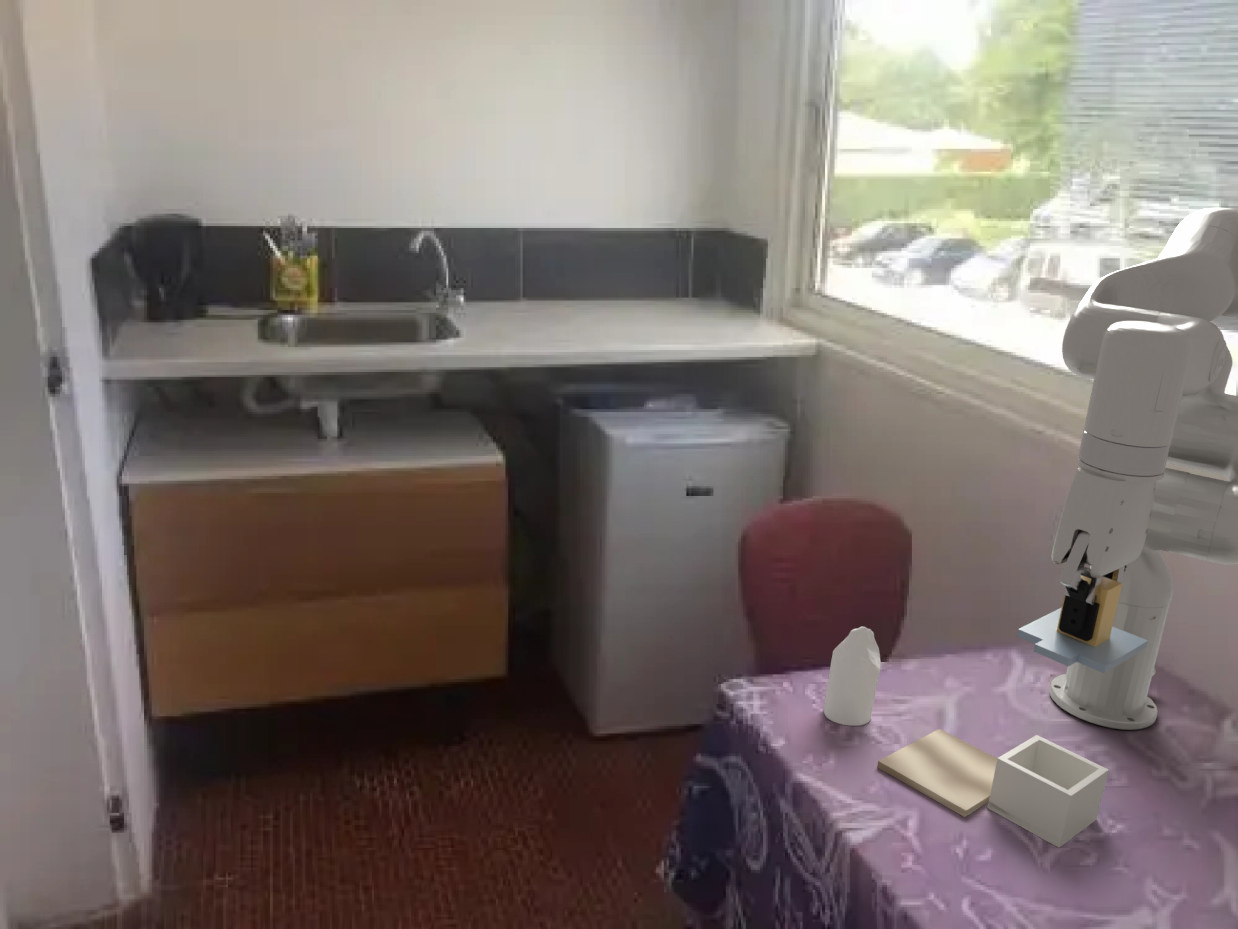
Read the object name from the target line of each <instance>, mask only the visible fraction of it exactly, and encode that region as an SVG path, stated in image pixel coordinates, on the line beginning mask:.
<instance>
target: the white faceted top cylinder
mask: <svg viewBox="0 0 1238 929" xmlns="http://www.w3.org/2000/svg"><path fill="white" fill-rule="evenodd" d="M881 663H882V662H881V655H880V648H879V645H878V644H877V641H876V639H875V633H874V631H872V629H871V628H867V627H866V626H860V627H858V628H853V629H851V630H850V632H849V633H848V635H847V636H846V637H845V638H844V640H843V641H841V642H840V643H839V644H838V645H837V646H836V647H835V648H834V649H833V651H832V657H831V661H830V666H829V668H830V669H829V673H828V674H829V675H828V680H827V687H826V694H825V700H824V705H823V713H824V715H825V717H826V718H827V719H828V720H830V721H831V722H833V723H836V724H840V725H844V726H854V727H856V726H860V727H861V726H863V725H867V724H868V723H869V722H870V721H871V720H872V719H871V718H872V713H873V708H874V704H875V697H876V692H877V688H878V682H879V678H880V673H881V665H882V664H881Z"/></svg>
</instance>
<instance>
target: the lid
mask: <svg viewBox="0 0 1238 929" xmlns="http://www.w3.org/2000/svg"><path fill="white" fill-rule="evenodd" d="M1081 578H1082V579H1083V580H1085V581H1087V582H1088V585H1089V586H1090V583H1091V579H1090V578H1088V577H1085V576H1082V575H1081ZM1121 587H1122V583H1120V582H1117V581H1114V580H1111V579H1109V578H1106V577H1103V578H1102V582H1101V586H1100V589H1099V593H1098V597H1097V600H1096V603H1099V604H1100V606H1099V610H1098V615H1097V619H1096V624H1095V628H1094V632H1093V637H1092V639H1091V640H1089V641H1084V640H1082V639H1079V638H1077V637H1074V636H1072V635H1069V634H1067V633H1065V632H1062V631H1061V630H1060V629H1059V623H1060V619H1061V614H1062V609H1063V604H1064V600H1065V594H1064V593H1063V599H1062V604H1061V607H1060V608H1057V609H1055V610H1054V611H1052V612H1049V613H1048V614H1045V615H1043V616H1041V617H1039V618H1038V619H1036V620H1034V621H1032V622H1030V623H1028V624H1025V625H1023V626H1022V627H1020V628H1017V634H1016V637H1017V638H1020V639H1022V640H1024V641H1027V642H1030V643H1032V644H1034V648H1033V652H1034V653H1037V654H1038V655H1041V656H1043V657H1046V658H1048V659H1050V660H1052V661H1055V662H1057V663H1060V664H1061V665H1063V666H1066V667H1067V668H1068V667H1069V666H1070V665H1072V664H1074V663H1076V662H1078V663H1080V664H1083V665H1085V666H1088V667H1090V668H1092V669H1095V670H1097V671H1099V672H1102V673H1106V672H1107V671H1109V670H1111V669H1112V668H1114V667H1116V666H1117V665H1119V664H1120V663H1122V662H1124V661H1125V660H1127V659H1129V658H1130V657H1132V656H1134V655H1135V654H1137V653H1139V652H1140V651H1142V650H1144V649H1145V648H1146V647H1147V643H1148V640H1146V639H1143V638H1140V637H1138V636H1135V635H1133V634H1130V633H1128V632H1125V631H1123V630H1120V629H1118V628H1115V627H1113V622H1114V617H1115V613H1116V608H1117V604H1118V600H1119V595H1120V591H1121Z"/></svg>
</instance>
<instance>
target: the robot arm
mask: <svg viewBox="0 0 1238 929" xmlns="http://www.w3.org/2000/svg"><path fill="white" fill-rule="evenodd" d="M1221 316H1222V317H1229V318H1236V319H1238V208H1233V207H1231V208H1230V207H1208V208H1202V209H1200V210H1196V211H1194V212H1193V213H1190V214H1188V215H1187V216H1186V217H1184V218H1183V219H1182V220H1181V221H1180V222H1179V223H1178V224H1177V226H1176V228H1175V229H1174V231H1173V233H1172V235H1171V236H1170V237H1169V239H1168V241H1167V243H1166V245H1165V246H1164V248H1163V249H1162V251H1161V252H1160V253H1159V255H1158V257H1157V258H1155V259H1152V260H1148V261H1145V262H1142V263H1139V264H1135V265H1132V266H1129V267H1125V268H1122V269H1119V270H1116V271H1114V272H1111V273H1109V274H1106V275H1105V276H1102V277H1101V278H1099V279H1098V280H1096V281H1095V282H1094V283H1093V284H1092V285H1091V286H1090V287H1089V289H1088V290H1087V291H1086V292H1085V294H1084V296H1083V298H1082V299H1081V300H1080V302H1079V303H1078V305H1077V306H1076V308H1075V310H1074V311H1073V314H1072V315H1071V317H1070V319H1069V321H1068V324H1067V326H1066V329H1065V330H1064V331H1065V332H1064V334H1063V339H1062V343H1061V344H1062V346H1061V352H1062V353H1061V354H1062V360H1063V362H1064V363H1065V366H1066V367H1067V369H1068V370H1069V371H1070V372H1072V374H1075V375H1076V376H1079V377H1081V378H1085V379H1091V380H1093V383H1092V387H1091V393H1090V396H1089V397H1090V399H1089V402H1088V408H1087V413H1086V417H1085V420H1084V421H1085V422H1084V427H1083V432H1082V436H1081V441H1080V447H1079V449H1078V450H1079V451H1078V454H1077V460H1076V463H1077V465H1078V468H1077V469H1076V472H1075V474H1074V476H1073V478H1072V480H1071V484H1070V487H1069V489H1068V493H1067V495H1066V498H1065V501H1064V506H1063V508H1062V512H1061V516H1060V519H1059V522H1058V527H1057V530H1056V535H1055V538H1054V543H1053V546H1052V552H1051V561H1052V562H1053V563H1054V564H1056V565H1062V564H1064V566H1063V568H1062V571H1061V573H1060V576H1059V578H1058V582H1059V583H1060V584H1062V585H1063V586H1064V587H1065V588H1064V593H1063V595H1064V594H1065V600H1064V604H1063V609H1062V614H1061V619H1060V623H1059V629H1060V630H1061V631H1062V632H1065V633H1067V634H1069V635H1072V636H1074V637H1077V638H1079V639H1082V640H1084V641H1089V640H1091V639H1092V637H1093V632H1094V628H1095V624H1096V619H1097V615H1098V610H1099V606H1100V604H1099V603H1096V600H1097V597H1098V593H1099V589H1100V586H1101V582H1102V578H1103V577H1106V578H1109V579H1111V580H1114V581H1117V582H1120V583H1122V587H1121V591H1120V595H1119V600H1118V604H1117V608H1116V613H1115V617H1114V622H1113V627H1115V628H1118V629H1120V630H1123V631H1125V632H1128V633H1130V634H1133V635H1135V636H1138V637H1140V638H1143V639H1146V640H1148V643H1147V647H1146V648H1145V649H1144V650H1142V651H1140V652H1139V653H1137V654H1135V655H1134V656H1132V657H1130V658H1129V659H1127V660H1125V661H1124V662H1122V663H1120V664H1119V665H1117V666H1116V667H1114V668H1112V669H1111V670H1109V671H1107V672H1106V673H1102V672H1099V671H1097V670H1095V669H1092V668H1090V667H1088V666H1085V665H1083V664H1080V663H1078V662H1076V663H1074V664H1072V665H1070V666H1069V667H1068V666H1067V669H1066V673H1063V674H1060V675H1058V676H1056V677H1053V679H1052V680H1051V682H1050V686H1049V690H1048V691H1049V695H1050V697H1051V699H1052V700H1053V702H1055V703H1056V705H1057V706H1059V707H1060V708H1061V709H1063V711H1065V712H1067V713H1069V714H1070V715H1072V716H1074V717H1076V718H1078V719H1081V720H1083V721H1085V722H1089V723H1090V724H1094V725H1097V726H1100V727H1101V726H1102V727H1105V728H1110V729H1117V730H1129V731H1131V730H1142V729H1146V728H1148V727H1150V726H1152V725H1153V724H1154V723H1156V720H1157V717H1158V707H1157V705H1156V704H1155V703H1154V701H1153V700H1152V698H1150V697H1149V696H1148V693H1149V690H1150V685H1151V682H1152V677H1153V676H1154V675H1156V671H1157V670H1156V667H1155V665H1156V661H1157V658H1158V654H1159V649H1160V645H1161V642H1162V637H1163V633H1164V629H1165V625H1166V622H1167V616H1168V613H1169V609H1170V605H1171V601H1172V598H1173V593H1174V580H1173V576H1172V573H1171V572H1172V571H1171V570H1170V568H1169V565H1168V564H1167V562H1166V560H1165V557H1164V556H1163V554H1162V552H1161V551H1163V552H1168V553H1169V552H1170V553H1174V554H1179V555H1182V556H1186V557H1189V558H1195V559H1198V560H1202V561H1206V562H1211V563H1214V564H1215V563H1216V564H1221V565H1226V566H1235V565H1238V395H1235V394H1230V393H1229V394H1228V393H1225V391H1226V387H1227V384H1228V381H1229V377H1230V375H1231V371H1232V367H1233V357H1232V353H1231V351H1230V349H1229V348H1228V344H1227V342H1226V340H1225V337H1224V334H1223V332H1222V331H1221V328H1219V326H1217V325H1216V324H1215V323H1213V322H1212V321H1214V320H1215V319H1217V318H1218V317H1221ZM1167 464H1169V465H1173V466H1178V467H1182V468H1188V469H1193V470H1197V471H1202V472H1207V473H1210V474H1211V473H1212V474H1216V475H1219V476H1223V477H1224V478H1225V479H1226V480H1224V479H1219V478H1214V477H1209V476H1205V475H1199V474H1194V473H1191V472H1187V471H1183V470H1178V469H1174V468H1169V467H1166V466H1167ZM1085 565H1089V567H1087V566H1085ZM1081 575H1082V576H1085V577H1088V578H1090V579H1091V583H1090V586H1089V585H1088V582H1087V581H1085V580H1083V579H1082V578H1081Z"/></svg>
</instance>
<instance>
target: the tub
mask: <svg viewBox="0 0 1238 929" xmlns="http://www.w3.org/2000/svg"><path fill="white" fill-rule="evenodd" d="M997 758H998V759H997V763H996V768H995V773H994V778H993V783H992V788H991V792H990V797H989V802H988V803H987V807H986V808H987V809H989V810H990V811H992V812H994V813H996V814H997V815H999V816H1001V817H1003V818H1004V819H1006V820H1008V821H1010V822H1012V823H1014V824H1015V825H1018V826H1019V827H1021V828H1023V829H1025V830H1026V831H1028V832H1030V833H1031V834H1033V835H1035V836H1036V837H1039V838H1041V839H1043V840H1044V841H1046V842H1048V843H1050V844H1051V845H1053V846H1055V847H1057V848H1061V847H1062V846H1063V845H1065V844H1066V843H1067V842H1069V841H1071V839H1073V838H1074V837H1075V836H1077V835H1079V833H1081V832H1082V831H1084V830H1086V829H1087V828H1088V827H1089V826H1091V825H1092V824H1093V823H1094V822H1096V821H1097V820H1098V816H1099V812H1100V808H1101V804H1102V799H1103V797H1104V796H1103V795H1104V792H1105V788H1106V782H1107V778H1108V776H1109V769H1108V768H1107V767H1104V766H1102V765H1100V764H1098V763H1096V762H1094V761H1092V760H1089V759H1087V758H1086V757H1084V756H1082V755H1079V754H1077V753H1075V752H1073V751H1071V750H1069V749H1066V748H1065V747H1063V746H1061V745H1058V744H1057V743H1054V742H1052V741H1051V740H1048V739H1046V738H1044V737H1042V736H1041V735H1038V734H1035V735H1034V736H1032V737H1031V738H1029V739H1028V740H1025V741H1023V743H1020V744H1019V745H1017V746H1016V747H1014V748H1012V749H1010V750H1008V751H1007V752H1005V753H1004V754H1002V755H1000V756H999V757H997Z"/></svg>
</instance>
